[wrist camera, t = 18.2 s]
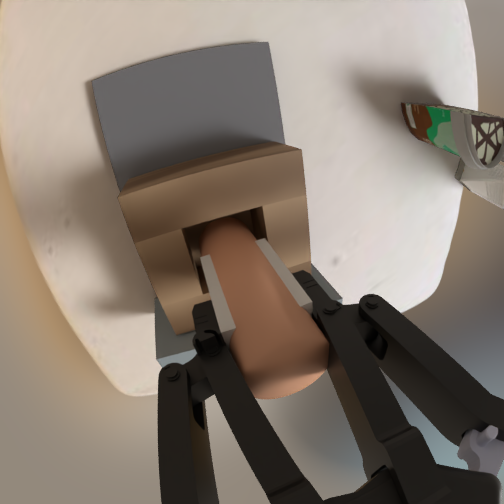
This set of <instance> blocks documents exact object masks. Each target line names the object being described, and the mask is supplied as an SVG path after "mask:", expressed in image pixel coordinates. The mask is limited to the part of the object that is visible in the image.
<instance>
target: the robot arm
mask: <svg viewBox="0 0 504 504" xmlns="http://www.w3.org/2000/svg"><path fill="white" fill-rule="evenodd" d="M255 242H256V244H257V245H258V246H259V248H260V249H261V251H262V252H263V254H264V255H265V257H266V258H267V259H268V261H269V262H270V264H271V265H272V267H273V268H274V269H275V271H276V272H277V274H278V275H279V277H280V278H281V280H282V281H283V283H284V284H285V285H286V287H287V288H288V290H289V291H290V293H291V294H292V296H293V297H294V299H295V300H296V301H297V303H298V304H299V306H300V307H302V308H304V309H305V310H306V311H307V312H308V313H309V314H310V316H311V317H312V318H313V320H314V321H315V323H316V324H317V326H318V327H319V328H320V330H321V331H322V333H323V334H324V336H325V337H326V339H327V340H328V342H329V357H328V368H327V371H328V373H329V375H330V378H331V380H332V382H333V385H334V387H335V390H336V392H337V395H338V397H339V399H340V402H341V405H342V407H343V409H344V412H345V414H346V417H347V419H348V422H349V424H350V427H351V429H352V432H353V434H354V437H355V440H356V442H357V444H358V447H359V450H360V452H361V455H362V458H363V467H364V471H365V474H366V477H367V479H368V481H367V482H366V483H365V484H364V485H363V486H361V487H360V488H359V489H357V490H356V491H355V492H354V493H350V494H345V495H341V496H337V497H332V498H329V499H326V500H324V501H323V500H322V498H321V497H320V496H319V494H318V493H317V491H316V490H315V489H314V487H313V486H312V485H311V483H310V482H309V481H308V480H307V479H306V478H305V477H304V475H303V474H302V472H301V471H300V470H299V468H298V467H297V465H296V464H295V462H294V461H293V459H292V458H291V456H290V455H289V453H288V452H287V450H286V448H285V447H284V445H283V444H282V442H281V441H280V439H279V437H278V436H277V434H276V432H275V431H274V429H273V427H272V426H271V424H270V423H269V421H268V419H267V418H266V416H265V414H264V413H263V411H262V409H261V408H260V406H259V404H258V403H257V401H256V399H255V397H254V395H253V394H252V392H251V390H250V388H249V387H248V385H247V383H246V381H245V380H244V378H243V376H242V374H241V372H240V371H239V369H238V367H237V365H236V363H235V361H234V360H233V358H232V355H231V352H230V347H229V344H230V339H231V336H232V334H233V332H234V330H235V329H236V326H235V324H234V321H233V318H232V316H231V313H230V310H229V307H228V305H227V302H226V299H225V296H224V294H223V291H222V288H221V285H220V282H219V280H218V277H217V274H216V271H215V268H214V265H213V262H212V260H211V257H210V254H209V255H206V256H203V257H200V259H201V263H202V267H203V271H204V274H205V278H206V282H207V286H208V289H209V293H210V297H211V300H208V301H205V302H202V303H198V304H195V305H194V307H193V310H192V316H193V321H194V326H195V332H196V334H195V335H194V337H193V339H192V343H193V346H194V348H195V350H196V352H197V354H196V355H195V356H194V358H193V359H191V360H190V361H188V362H187V363H185V364H183V365H182V364H180V363H170V364H167V365H166V366H164V367H163V368H162V369H161V371H160V373H159V379H158V456H159V476H160V490H161V502H162V504H219V499H218V494H217V488H216V482H215V476H214V470H213V463H212V456H211V449H210V442H209V434H208V427H207V418H206V409H205V400H206V399H207V398H209V397H210V396H212V395H214V394H215V396H216V398H217V401H218V403H219V405H220V407H221V409H222V411H223V414H224V416H225V418H226V420H227V422H228V424H229V426H230V428H231V430H232V432H233V434H234V436H235V438H236V440H237V442H238V444H239V446H240V448H241V450H242V452H243V454H244V456H245V457H246V459H247V461H248V463H249V465H250V466H251V469H252V470H253V472H254V474H255V476H256V477H257V479H258V481H259V483H260V484H261V486H262V488H263V490H264V491H265V493H266V495H267V497H268V500H269V501H270V503H271V504H502V486H501V483H500V481H499V479H498V478H497V477H496V476H497V474H498V472H499V469H500V467H501V464H502V462H503V460H504V400H503V399H501V398H499V397H496V396H494V395H492V394H490V393H489V392H488V391H487V390H486V389H485V388H484V387H483V386H482V385H481V384H480V383H479V382H478V381H477V380H475V378H474V377H472V376H471V375H470V374H469V373H468V372H467V371H466V370H465V369H464V368H463V367H462V366H461V365H459V364H458V363H457V362H456V361H455V360H454V359H453V358H452V357H450V355H449V354H447V353H446V352H445V351H444V350H443V349H442V348H441V347H440V346H438V345H437V344H436V343H435V342H434V341H433V340H431V339H430V338H429V337H428V336H427V335H426V334H425V333H424V332H422V331H421V330H420V329H419V328H418V327H417V326H415V325H414V324H413V323H412V322H411V321H409V320H408V319H407V318H406V317H405V316H404V315H402V314H401V313H400V312H399V311H398V310H396V309H395V308H394V307H393V306H392V305H390V304H389V303H388V302H387V301H385V300H384V299H383V298H382V297H380V296H378V295H375V294H368V295H365V296H363V297H362V298H361V299H360V301H359V304H351V305H342V304H341V303H340V302H338V301H336V300H332V299H331V298H330V297H329V296H328V294H327V293H326V292H325V291H324V290H323V288H322V287H321V286H320V285H319V284H318V282H317V281H316V280H315V279H314V278H313V276H312V275H311V274H310V273H308V272H306V271H304V270H301V271H298V272H295V273H292V274H291V272H290V271H289V270H288V268H287V267H286V266H285V264H284V263H283V262H282V260H281V259H280V258H279V256H278V255H277V254H276V252H275V251H274V250H273V248H272V247H271V246H270V244H269V243H268V242H267V241H266V239H265V238H264V239H260V240H257V241H255ZM379 367H380V368H381V369H382V370H383V371H384V373H385V374H386V375H387V376H388V377H389V378H390V379H391V380H392V381H393V382H394V383H395V384H396V385H397V386H398V387H399V388H400V390H401V391H402V392H403V393H404V394H405V395H406V396H407V397H408V398H409V399H410V400H411V401H412V402H413V403H414V404H415V405H416V407H417V408H418V409H419V410H420V411H421V412H422V413H423V414H424V415H425V416H426V417H427V418H428V419H429V420H430V422H431V423H432V424H433V425H434V426H435V427H436V428H437V429H438V430H439V432H440V433H441V434H442V435H444V436H445V437H446V438H447V439H448V440H449V441H451V442H452V443H454V444H455V445H457V446H459V450H458V453H457V454H458V457H459V458H460V459H464V460H465V461H466V462H467V464H468V468H469V470H465V469H460V468H454V467H449V466H444V465H439V464H436V462H435V460H434V458H433V456H432V454H431V452H430V450H429V447H428V445H427V444H426V441H425V439H424V437H423V435H422V433H421V432H420V431H419V429H418V428H417V427H414V426H411V425H410V424H409V423H408V421H407V419H406V417H405V415H404V413H403V411H402V409H401V407H400V405H399V403H398V401H397V400H396V398H395V396H394V394H393V392H392V390H391V388H390V386H389V385H388V383H387V381H386V379H385V377H384V375H383V373H382V372H381V370H380V368H379Z"/></svg>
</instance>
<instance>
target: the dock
mask: <svg viewBox="0 0 504 504" xmlns="http://www.w3.org/2000/svg"><path fill="white" fill-rule="evenodd" d="M92 86H93V91H94V96H95V101H96V105H97V110H98V114H99V119H100V123H101V127H102V131H103V135H104V139H105V142H106V146H107V150H108V153H109V157H110V160H111V164H112V167H113V171H114V174H115V177H116V180H117V183H118V187H119V190H120V193H121V191H122V189H123V187H124V186H125V184H126V182H127V181H128V179H131V178H134V177H137V176H140V175H143V174H146V173H149V172H152V171H155V170H158V169H162V168H165V167H168V166H172V165H175V164H179V163H182V162H186V161H189V160H193V159H197V158H201V157H205V156H209V155H213V154H217V153H221V152H225V151H229V150H234V149H238V148H243V147H248V146H252V145H257V144H263V143H268V142H273V141H275V142H278V143H282V144H285V139H284V132H283V125H282V119H281V112H280V106H279V99H278V93H277V87H276V81H275V76H274V70H273V64H272V59H271V53H270V48H269V43H268V42H257V43H245V44H235V45H227V46H219V47H213V48H206V49H201V50H195V51H190V52H185V53H180V54H176V55H171V56H167V57H163V58H159V59H156V60H152V61H148V62H145V63H141V64H138V65H135V66H132V67H129V68H125V69H122V70H120V71H117V72H114V73H111V74H108V75H106V76H103V77H101V78H98V79H96V80H93V81H92ZM311 272H312V276H313V278H314V279H315V280H316V281H317V282H318V284H319V285H320V286H321V287H322V288H323V290H324V291H325V292H326V293H327V294H328V296H329V297H330V298H331V299H332V300H336V301H338V302H340V303H341V304H342V299H343V298H342V297H341V296H340V295H339V294H338V293H337V291H336V290H335V289H334V288H333V287H332V286H331V285H330V284H329V282H328V281H327V280H326V279H325V278H324V277H323V276H322V275H321V273H320V272H319V271H318V270H317V269H316V268H315V267H314V266H313V264H312V263H311ZM195 334H196V332H195V330H193V331H189V332H186V333H182V334H179V335H176V333H175V332H174V330H173V328H172V326H171V324H170V322H169V320H168V318H167V316H166V314H165V312H164V310H163V307H162V305H161V303H160V301H159V299H158V298H156V299H155V341H156V359H157V361H158V362H159V364H160V365H161V367H162V368H163V367H164V366H166V365H167V364H170V363H180V364H182V365H183V364H185V363H187V362H188V361H190V360H191V359H193V358H194V356H195V355H196V354H197V352H196V350H195V348H194V346H193V343H192V339H193V337H194V335H195Z"/></svg>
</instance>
